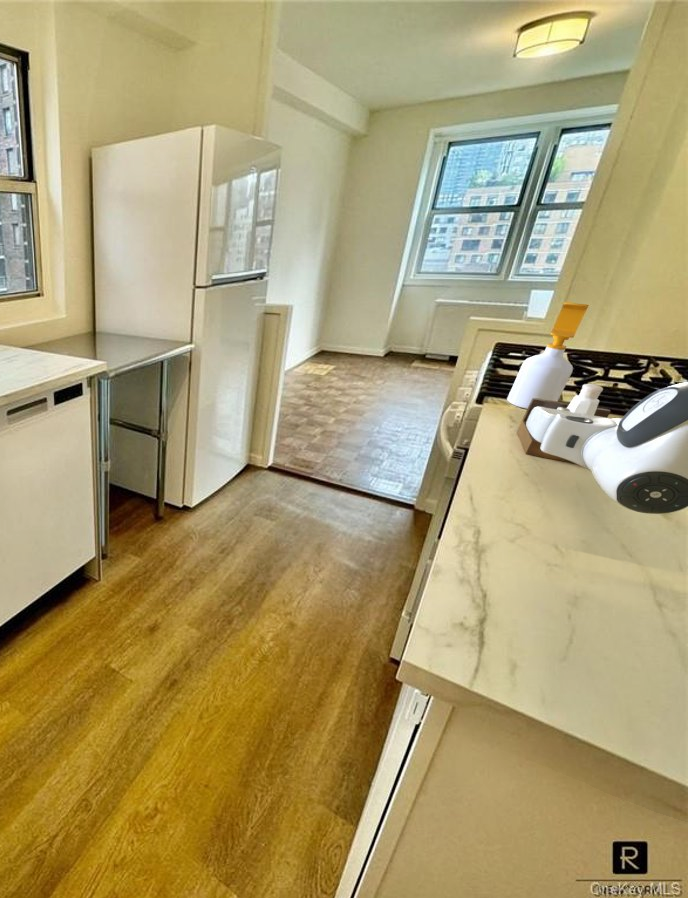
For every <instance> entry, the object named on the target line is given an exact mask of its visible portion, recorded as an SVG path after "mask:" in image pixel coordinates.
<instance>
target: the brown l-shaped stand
mask: <svg viewBox="0 0 688 898" xmlns="http://www.w3.org/2000/svg"><path fill="white" fill-rule="evenodd" d="M570 403H571V402H570ZM570 403H569V402H564V401H558V402H557V401H550V400H544V399H537V398H532V400H531V402H530V404H529V406H528V409H526V411H525V413H524V415H523V417H522V419H521V422H520V424H519V426H518V428H517V429H516V434H517V436H518V438H519V441H520V444H521V446H522V449H523V451H524V453H525V455H530V456H534V457H540V458H545V459H548V460H554V461H560V462H565V463H570V464H574V465H577V464H576V463H574V462H572V461H569V460H566V459H563V458H560V457H557V456H554V455H551V454H548V453H545V452H543V451H542V450H541V449H540V447H541V444H542V443H540V442H538V441H537V440H535V439H534V438H533V437H532V435H531V434H530V432H529V431H528V429H527V426H526V422H527V419H528V417H529V415H530V413H531V411H532V409H533V408H535V407H545V408H550V409H557V408H558V407H562V408H567V407H568V406H569V404H570ZM610 414H611V410H610V409H609V408H603V407H597V409H596V411H595V414H594V416H600V417H606V418H609V416H610Z"/></svg>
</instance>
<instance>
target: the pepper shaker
mask: <svg viewBox="0 0 688 898" xmlns="http://www.w3.org/2000/svg"><path fill="white" fill-rule="evenodd" d="M603 390H604V388H603V387H602V386H601V385H597V384H593V383H584V384H582V387H581V389H580V391H579V392H580V393H579V394H577V395H575V396H573V399H571V401H570V404H569V406H568V407H567V408H568V409H569V410H570V411H571V412H575V413H581V414H587V415H594V414H595V411H596V409H597V408H598V406H599V403H600V400H599V399H598V398H599V396H600V395H601V393H602V392H603Z"/></svg>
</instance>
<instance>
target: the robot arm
mask: <svg viewBox="0 0 688 898" xmlns="http://www.w3.org/2000/svg"><path fill="white" fill-rule="evenodd" d="M526 426H527V429H528V431H529V432H530V434H531V435H532V437H533V438H534V439H535V440H537V441H538V442H540V443H542V444H541V447H540V449H541V450H542V451H543V452H545V453H548V454H551V455H554V456H557V457H560V458H563V459H566V460H569V461H572V462H574V463H576V464H575V465H578V466H581V467H582V468H584V469H588V470H590V472H591V473H592V476H593V478H594V480H595V481H596V483H597V484H598V486H599V487H600V488H601V490H602V491H603V492H604V493H605V494H606V495H607V496H608V497H609V498H610V499H611V500H612V501H613V502H615V503H616V504H617V505H619V506H621V507H623V508H625V509H627V510H630V511H634V512H637V513H642V514H650V515H662V514H663V515H664V514H671V513H675V512H679V511H682V510H684V509H686V508H688V381H686V382H681V383H677V384H673V385H669V386H667V387H663V388H660V389H658V390H655V391H653V392H651V393H650V394H648V395H647V396H645V397H644V398H642V399H641V400H639V401H638V402H637V403H636V404H634V406H632V407H631V408H630V409H629V410H628V411H627V412H626V413H625V414H624V416H623V417H616V418H611V417H608V418H606V417H600V416H594V415H587V414H581V413H575V412H571V411H570V410H569V409H568V408H562V407H558V408H557V409H550V408H545V407H535V408H533V409H532V411H531V413H530V415H529V417H528V419H527V422H526ZM574 463H573V464H574Z"/></svg>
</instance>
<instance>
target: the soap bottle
mask: <svg viewBox="0 0 688 898" xmlns="http://www.w3.org/2000/svg"><path fill="white" fill-rule="evenodd" d="M588 308H589V304H584V303H575V302H563V304H562V307H561V310H560V311H559V313H558V316H557V319H556V321H555V323H554V325H553V327H552V330H550V331H551V332H550V333H549V334H550V335H551V336H552V338H553V339H554V340H553V342H552V343H551V342H550V343H547V345H546V347H545V349H544V352H543V353H539V354H535V355H533V356H530V357H527V358H526V359H525V360H524V361H523V362H522V364H521V366H520V368H519V371H518V372H517V375H516V378H515V380H514V382H513V384H512V387H511V389H510V391H509V393H508V395H507V397H506V400H507V402H508V403H510V404H511V405H513V406H516V407H518V408H520V409H521V408H522V409H525V410H527V409H528V406H529V404H530V402H531V400H532V398H537V399H544V400H550V401H557V402H559V399H561V398H560V397H561V395H562V393H563V392H564V389H565V388H566V385H567V384H568V381H569V379H570V378H571V375H572V373H573V371H574V369H573V366H574V365H572V364H571V363H570V361H569V360H567V359H566V358H565V357H564V353H565V351H566V349H567V345H564V343H565V341H568V340H569V339H570V338H572V339H574V337H575V335H576V332H577V330H578V328H579V326H580V324H581V322H582V320H583V318H584V316H585V315H586V312H587V310H588Z"/></svg>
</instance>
